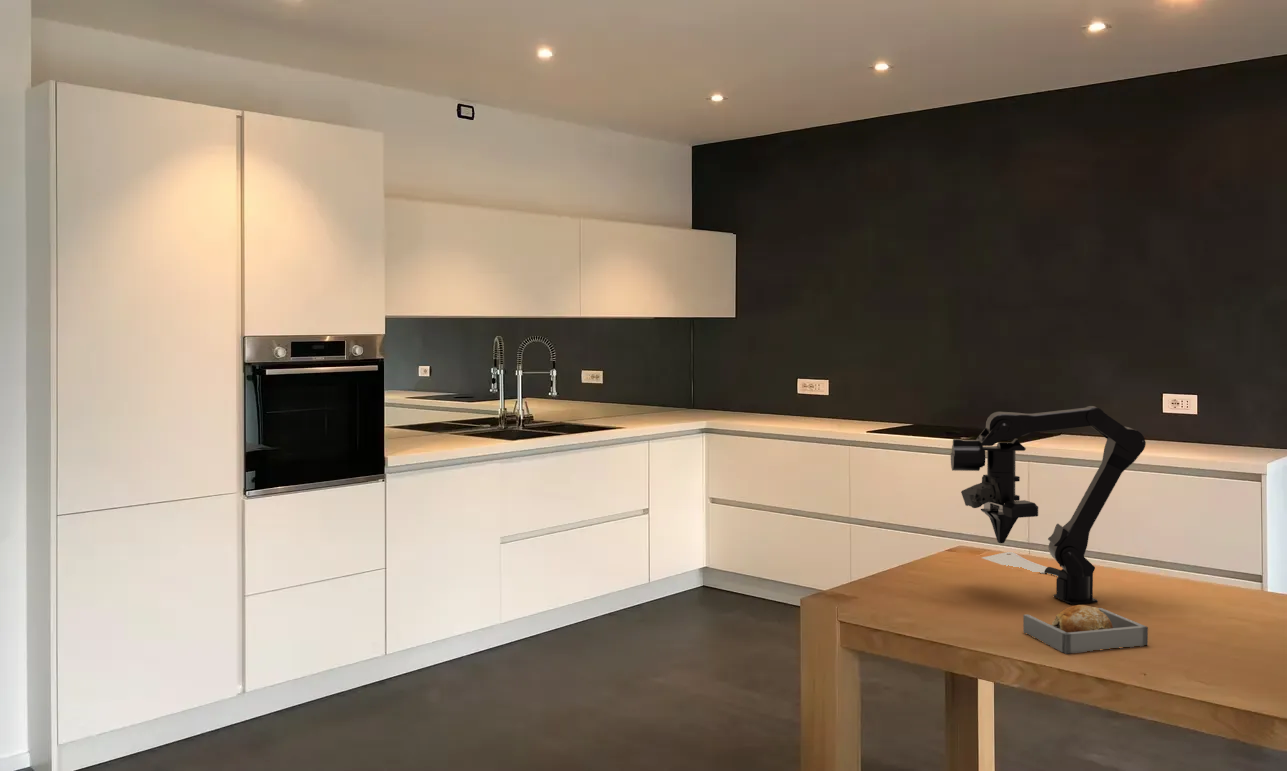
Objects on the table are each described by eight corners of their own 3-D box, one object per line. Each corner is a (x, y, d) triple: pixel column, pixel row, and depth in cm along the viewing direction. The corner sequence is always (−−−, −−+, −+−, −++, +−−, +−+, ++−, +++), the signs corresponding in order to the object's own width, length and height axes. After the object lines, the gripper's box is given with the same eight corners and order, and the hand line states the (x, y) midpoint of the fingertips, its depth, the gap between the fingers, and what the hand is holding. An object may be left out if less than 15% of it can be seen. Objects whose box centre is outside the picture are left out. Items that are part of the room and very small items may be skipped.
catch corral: (1100, 625, 200) (1101, 607, 200) (1147, 645, 187) (1147, 627, 187) (1023, 632, 196) (1023, 614, 196) (1065, 653, 183) (1065, 634, 183)
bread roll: (1086, 666, 187) (1105, 632, 184) (1038, 632, 194) (1056, 598, 191) (1110, 654, 194) (1129, 620, 191) (1063, 621, 201) (1080, 588, 198)
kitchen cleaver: (975, 556, 257) (1009, 548, 260) (976, 562, 257) (1009, 554, 260) (1061, 586, 227) (1098, 577, 230) (1062, 593, 228) (1098, 584, 231)
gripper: (944, 467, 226) (944, 536, 227) (991, 479, 208) (991, 555, 209) (990, 464, 229) (989, 533, 230) (1040, 476, 210) (1039, 551, 211)
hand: (1000, 542), depth 220 cm, fingers closed
